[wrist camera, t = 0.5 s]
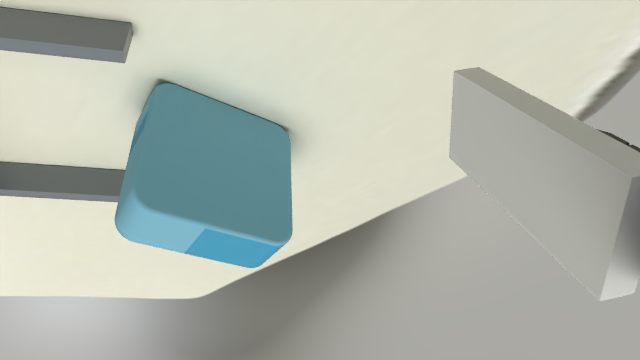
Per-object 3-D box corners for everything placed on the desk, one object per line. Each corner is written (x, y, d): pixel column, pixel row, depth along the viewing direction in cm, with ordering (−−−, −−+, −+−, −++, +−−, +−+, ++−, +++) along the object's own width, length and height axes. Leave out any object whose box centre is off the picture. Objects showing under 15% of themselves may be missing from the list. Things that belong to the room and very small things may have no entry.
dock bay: (-119, -8, 31) (-144, 21, 29) (131, 22, 33) (123, 51, 32) (-17, 167, 45) (-30, 193, 43) (152, 178, 47) (148, 203, 46)
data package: (138, 111, 40) (109, 238, 33) (156, 75, 37) (128, 206, 30) (266, 156, 46) (265, 272, 39) (291, 128, 43) (294, 248, 36)
